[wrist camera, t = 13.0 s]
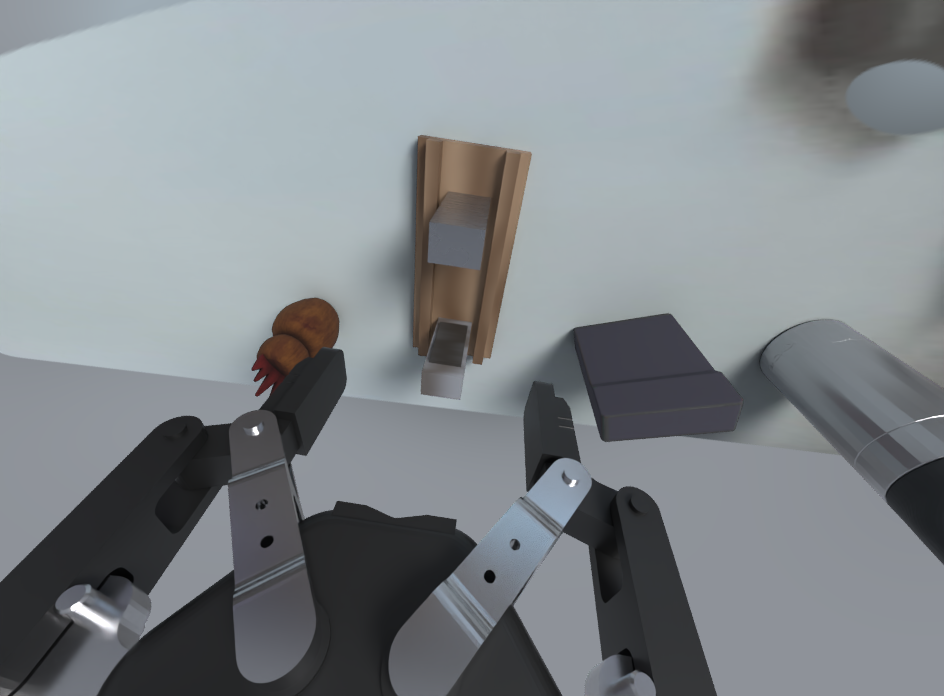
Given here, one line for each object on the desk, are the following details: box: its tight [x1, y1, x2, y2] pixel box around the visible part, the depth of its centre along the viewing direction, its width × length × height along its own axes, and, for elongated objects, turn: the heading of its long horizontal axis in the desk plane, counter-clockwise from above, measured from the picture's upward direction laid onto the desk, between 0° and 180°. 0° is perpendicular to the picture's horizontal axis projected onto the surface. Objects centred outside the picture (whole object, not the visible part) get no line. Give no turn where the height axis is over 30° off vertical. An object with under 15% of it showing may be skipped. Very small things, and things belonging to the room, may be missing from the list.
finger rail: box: [413, 135, 532, 400], centre depth 33 cm, size 10×23×12 cm, turn 173°
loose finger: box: [428, 191, 491, 270], centre depth 28 cm, size 4×3×10 cm
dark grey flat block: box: [574, 314, 743, 442], centre depth 35 cm, size 11×4×15 cm, turn 104°
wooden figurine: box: [251, 298, 339, 397], centre depth 37 cm, size 7×6×15 cm
